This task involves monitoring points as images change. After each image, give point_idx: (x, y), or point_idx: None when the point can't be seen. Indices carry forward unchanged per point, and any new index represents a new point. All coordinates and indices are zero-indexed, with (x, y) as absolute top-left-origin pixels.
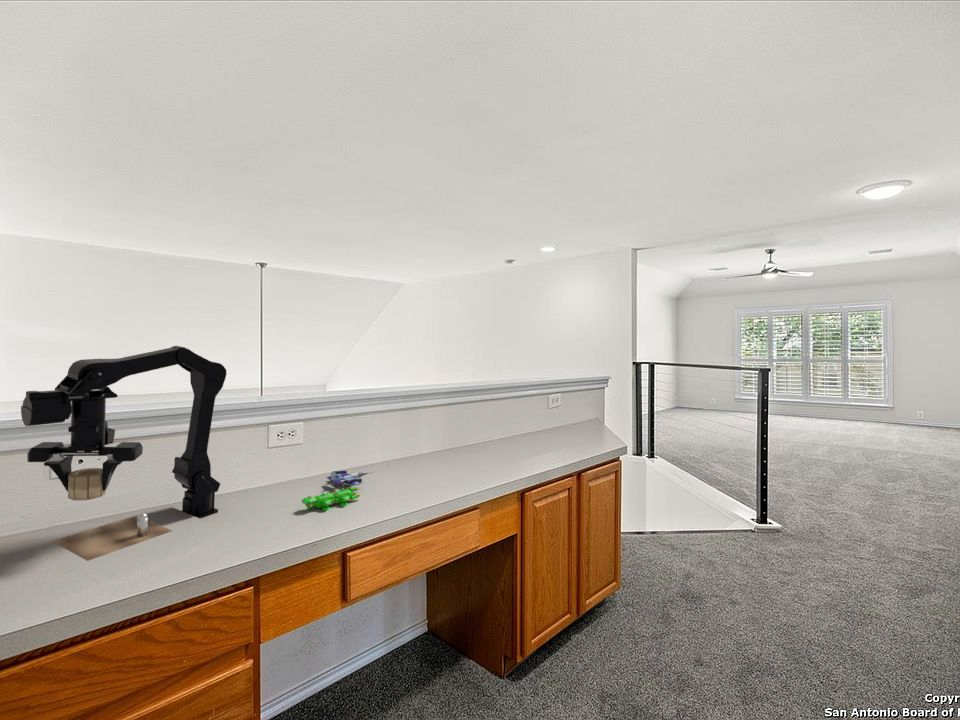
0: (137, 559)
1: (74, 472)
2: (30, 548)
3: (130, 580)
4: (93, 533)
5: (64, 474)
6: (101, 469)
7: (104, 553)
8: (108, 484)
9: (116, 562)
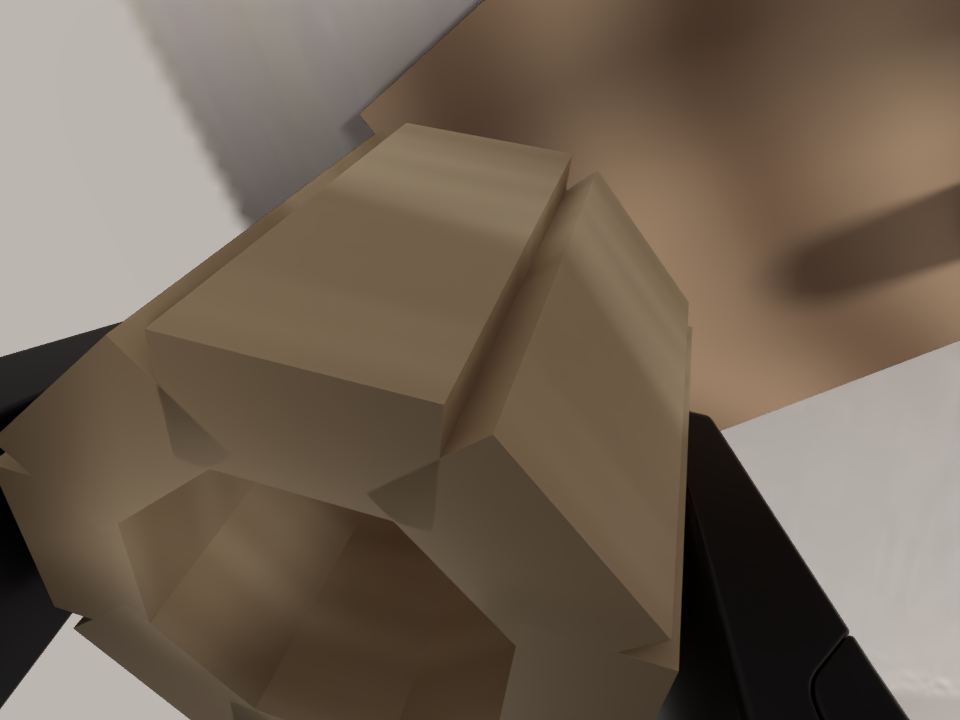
0: (903, 445)
1: (72, 540)
2: (259, 66)
3: (839, 614)
4: (608, 43)
5: (26, 661)
6: (544, 546)
7: (716, 418)
8: (737, 472)
9: (782, 434)
